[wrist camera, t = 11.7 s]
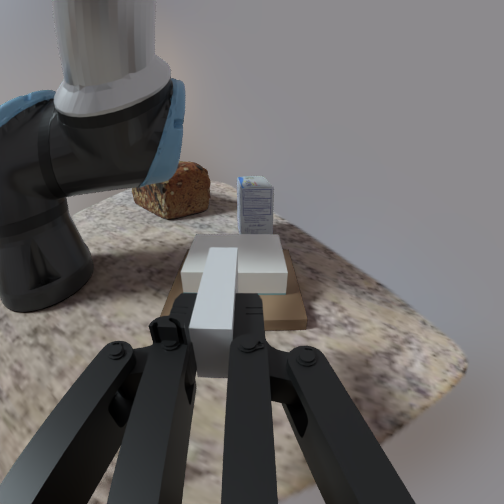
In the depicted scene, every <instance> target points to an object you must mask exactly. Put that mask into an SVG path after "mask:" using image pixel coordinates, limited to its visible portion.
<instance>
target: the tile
mask: <svg viewBox="0 0 504 504" xmlns="http://www.w3.org/2000/svg"><path fill="white" fill-rule="evenodd" d="M210 247H218V248H238V293H258V295H286V288H287V276H288V272H287V267H286V263H285V259H284V255H283V250H282V246H281V242H280V238H279V234H196V236H195V238H194V240H193V243H192V245H191V248H190V250H189V253H188V255H187V257H186V260H185V262H184V265H183V267H182V270H181V279H182V286H183V293H198V290H199V286H200V282H201V279H202V275H203V271H204V267H205V264H206V260H207V256H208V253H209V249H210Z"/></svg>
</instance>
